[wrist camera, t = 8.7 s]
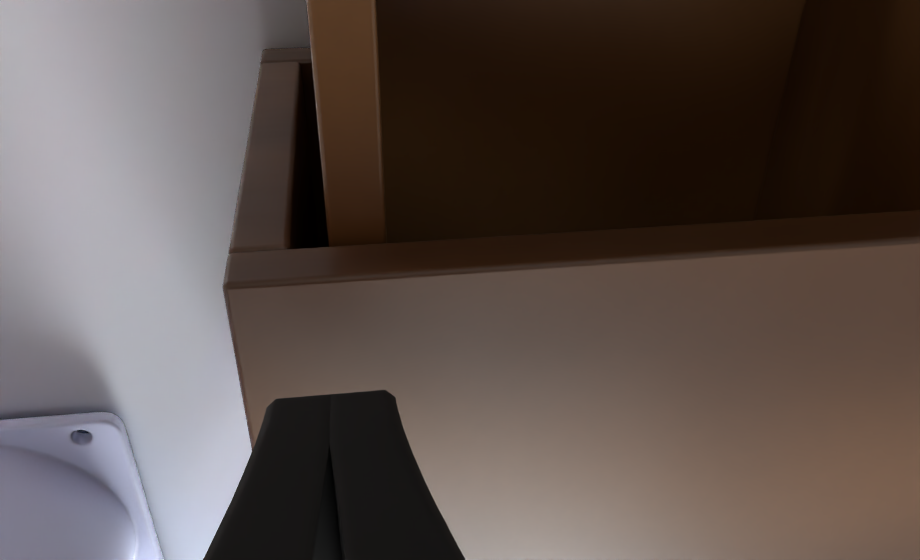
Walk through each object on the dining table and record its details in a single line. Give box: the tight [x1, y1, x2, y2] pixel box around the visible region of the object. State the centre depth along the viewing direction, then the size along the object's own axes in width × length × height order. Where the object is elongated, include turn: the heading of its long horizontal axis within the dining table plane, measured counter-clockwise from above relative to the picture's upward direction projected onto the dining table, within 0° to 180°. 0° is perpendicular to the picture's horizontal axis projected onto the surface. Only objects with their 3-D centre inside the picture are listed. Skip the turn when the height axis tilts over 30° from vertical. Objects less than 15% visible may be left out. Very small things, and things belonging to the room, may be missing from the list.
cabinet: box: [223, 47, 920, 560], centre depth 19 cm, size 15×13×9 cm
